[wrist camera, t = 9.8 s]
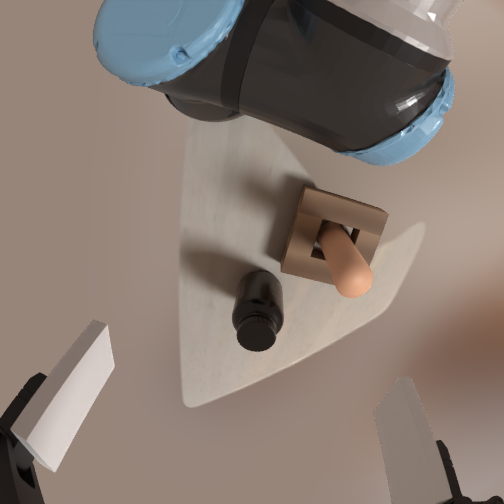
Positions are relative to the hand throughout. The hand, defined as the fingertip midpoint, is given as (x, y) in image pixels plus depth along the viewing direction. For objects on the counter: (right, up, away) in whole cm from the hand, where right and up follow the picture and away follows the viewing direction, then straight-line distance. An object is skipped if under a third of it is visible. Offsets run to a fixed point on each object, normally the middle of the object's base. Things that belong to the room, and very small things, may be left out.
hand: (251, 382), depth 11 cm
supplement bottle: (+1, 0, +34) cm, 34 cm away
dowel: (+11, +8, +29) cm, 32 cm away
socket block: (+11, +8, +29) cm, 32 cm away
